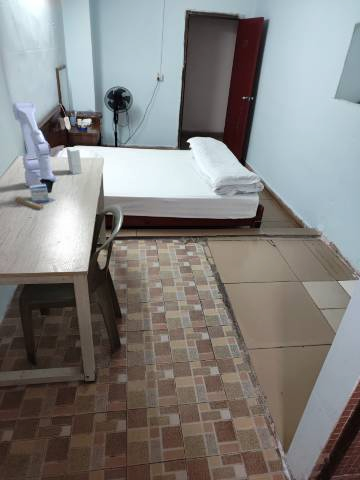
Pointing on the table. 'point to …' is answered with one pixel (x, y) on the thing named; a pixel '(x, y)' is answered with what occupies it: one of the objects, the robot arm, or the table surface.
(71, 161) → the skincare box
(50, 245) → the table surface
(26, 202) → the level mat
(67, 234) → the table surface
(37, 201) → the medicine box
